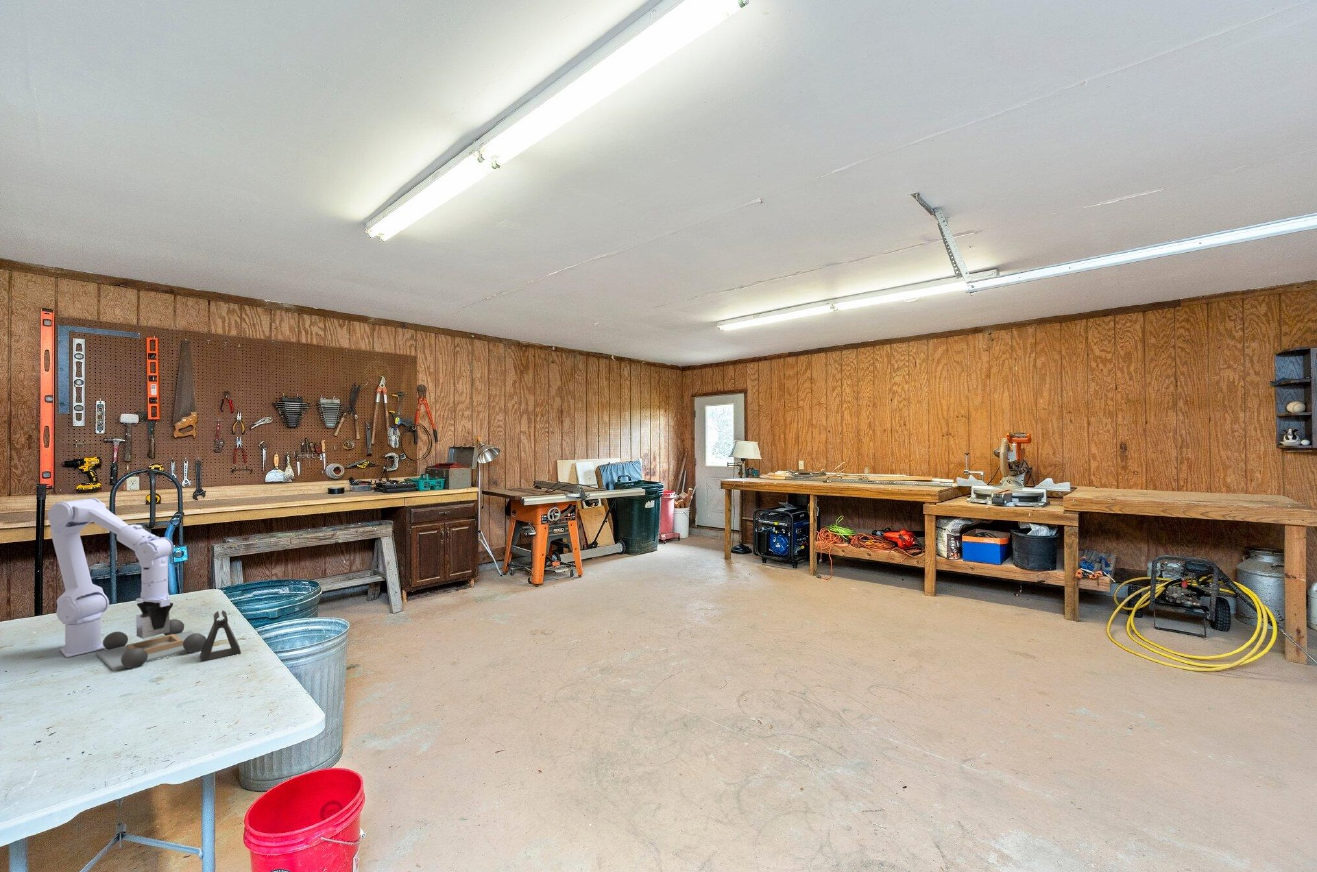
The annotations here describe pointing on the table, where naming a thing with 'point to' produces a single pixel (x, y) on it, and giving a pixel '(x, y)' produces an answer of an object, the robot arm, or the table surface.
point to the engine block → (149, 626)
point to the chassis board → (149, 647)
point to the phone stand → (208, 645)
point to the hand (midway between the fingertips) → (155, 627)
